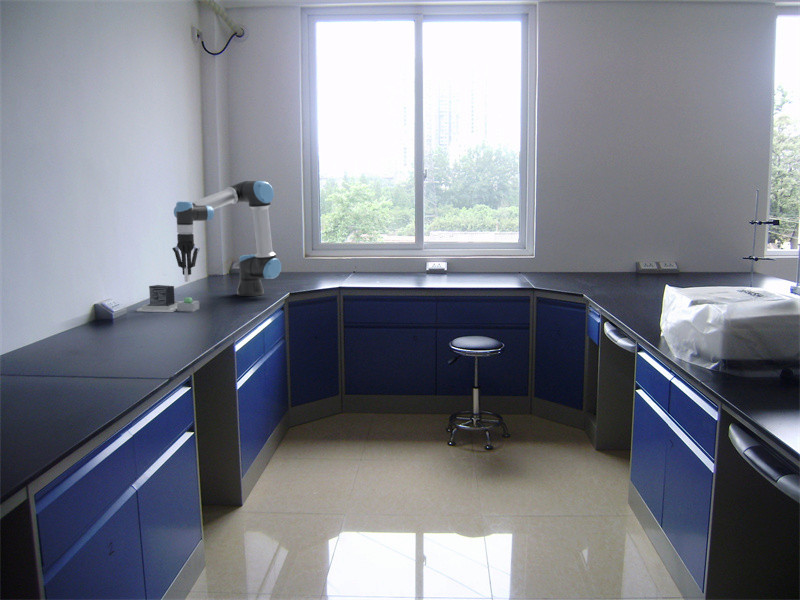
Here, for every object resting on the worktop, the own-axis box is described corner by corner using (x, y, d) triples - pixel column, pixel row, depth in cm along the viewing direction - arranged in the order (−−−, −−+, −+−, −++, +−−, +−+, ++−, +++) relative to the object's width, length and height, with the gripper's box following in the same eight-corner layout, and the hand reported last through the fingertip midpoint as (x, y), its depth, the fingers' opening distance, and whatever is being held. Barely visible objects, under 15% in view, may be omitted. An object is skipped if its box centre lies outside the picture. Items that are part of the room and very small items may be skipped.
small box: (175, 306, 314) (174, 285, 312) (167, 308, 308) (166, 287, 306) (158, 304, 317) (157, 284, 316) (149, 306, 311) (148, 286, 310)
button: (193, 305, 311) (192, 297, 311) (190, 306, 308) (190, 298, 307) (186, 305, 312) (185, 297, 311) (183, 306, 308) (183, 298, 307)
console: (199, 308, 314) (199, 300, 313) (193, 311, 306) (193, 303, 305) (183, 308, 314) (183, 300, 314) (177, 311, 306) (177, 303, 306)
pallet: (187, 305, 321) (187, 301, 321) (172, 312, 303) (172, 307, 303) (153, 304, 322) (152, 300, 322) (136, 311, 304) (136, 306, 304)
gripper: (201, 233, 307) (203, 280, 311) (175, 232, 308) (177, 280, 312) (195, 234, 300) (197, 282, 304) (169, 233, 300) (171, 282, 304)
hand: (187, 281), depth 308 cm, fingers closed
